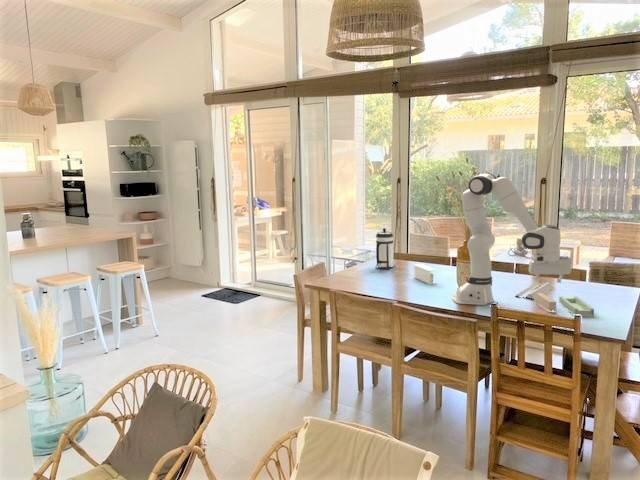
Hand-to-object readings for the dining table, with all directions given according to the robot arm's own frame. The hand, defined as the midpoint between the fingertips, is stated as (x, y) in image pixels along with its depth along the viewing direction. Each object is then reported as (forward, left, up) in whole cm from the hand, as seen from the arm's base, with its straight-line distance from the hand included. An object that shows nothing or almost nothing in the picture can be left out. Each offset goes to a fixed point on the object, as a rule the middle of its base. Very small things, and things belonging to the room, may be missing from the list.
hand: (549, 282), depth 252 cm
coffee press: (-85, +100, -15) cm, 132 cm away
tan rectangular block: (0, +4, -15) cm, 16 cm away
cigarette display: (-59, +63, -15) cm, 88 cm away
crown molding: (+3, +34, -16) cm, 37 cm away
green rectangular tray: (+14, +1, -15) cm, 21 cm away
